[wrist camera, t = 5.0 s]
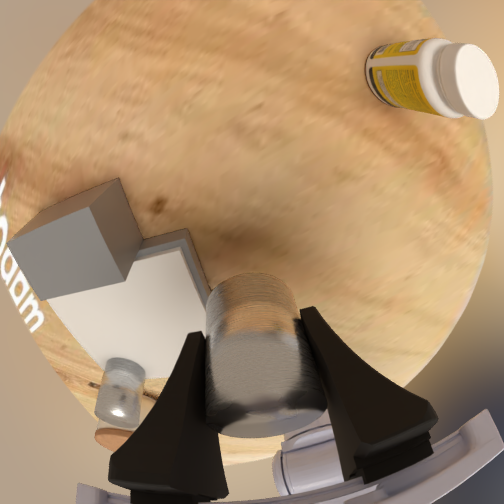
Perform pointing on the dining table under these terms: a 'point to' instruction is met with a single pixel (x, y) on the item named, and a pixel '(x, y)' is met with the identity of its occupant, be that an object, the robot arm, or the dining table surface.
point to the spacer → (258, 360)
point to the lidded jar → (120, 428)
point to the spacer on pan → (121, 393)
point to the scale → (114, 279)
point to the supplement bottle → (434, 78)
